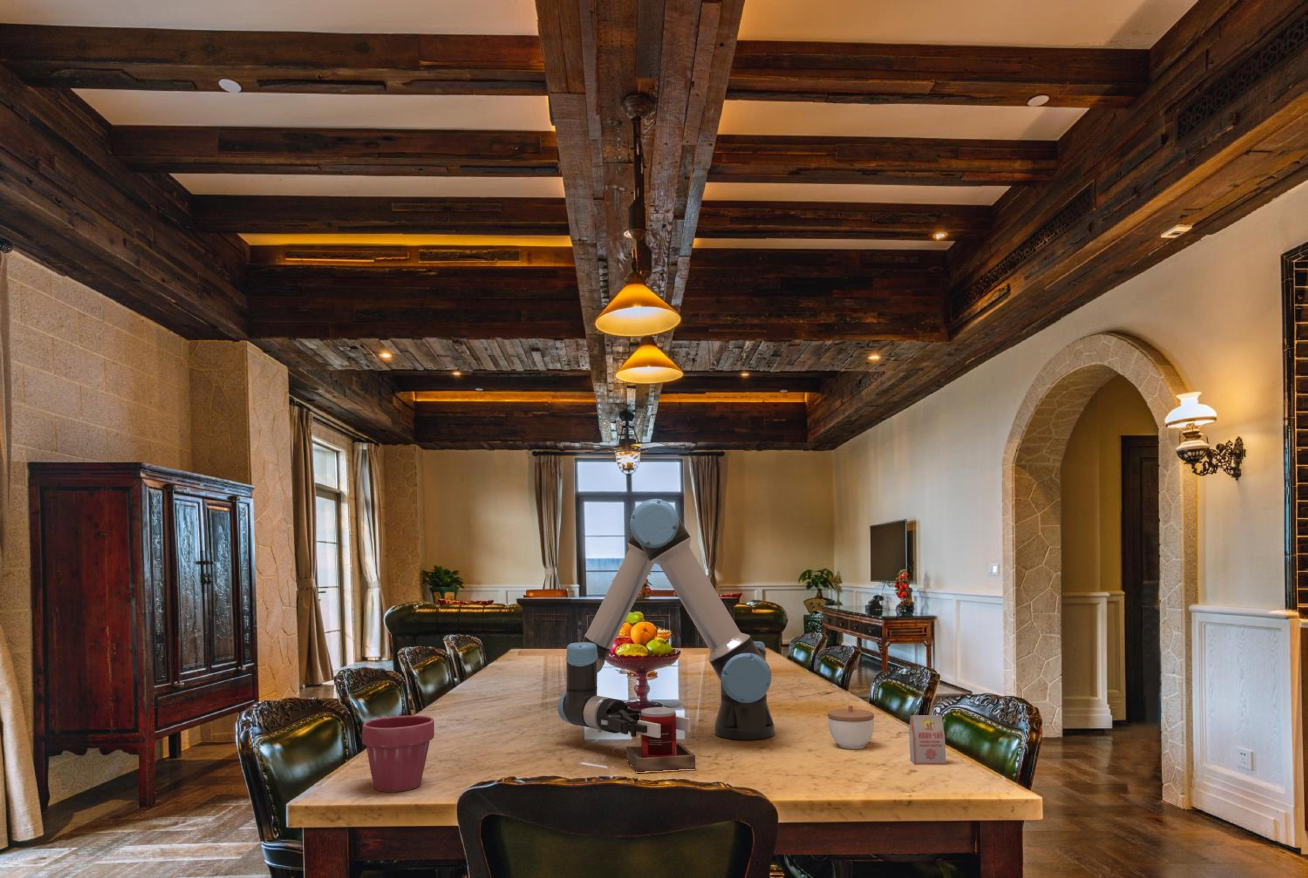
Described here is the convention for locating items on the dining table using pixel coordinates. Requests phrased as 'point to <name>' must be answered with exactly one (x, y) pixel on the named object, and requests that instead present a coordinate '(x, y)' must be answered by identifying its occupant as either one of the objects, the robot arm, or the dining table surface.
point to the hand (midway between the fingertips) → (674, 727)
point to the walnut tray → (660, 760)
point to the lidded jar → (851, 727)
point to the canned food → (668, 733)
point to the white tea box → (927, 740)
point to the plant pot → (397, 750)
